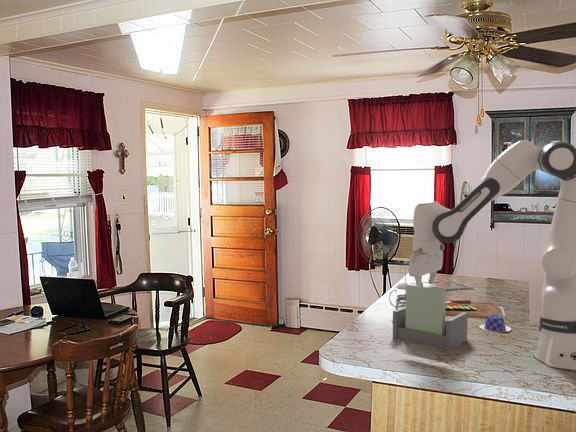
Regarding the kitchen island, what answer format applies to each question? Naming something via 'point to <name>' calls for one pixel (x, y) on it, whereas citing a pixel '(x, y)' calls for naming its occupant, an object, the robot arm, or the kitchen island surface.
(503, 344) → the kitchen island surface
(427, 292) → the tall panel
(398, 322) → the rack
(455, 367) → the kitchen island surface
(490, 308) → the chopping board
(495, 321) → the pudding
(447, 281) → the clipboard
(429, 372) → the kitchen island surface
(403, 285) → the french press
